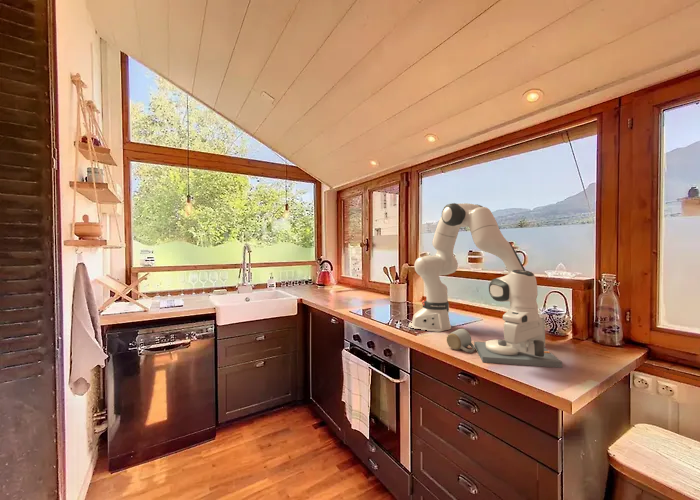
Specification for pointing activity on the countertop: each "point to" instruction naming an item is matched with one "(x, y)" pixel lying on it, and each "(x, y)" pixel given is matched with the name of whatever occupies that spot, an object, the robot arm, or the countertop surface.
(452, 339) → the ceramic mug
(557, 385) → the countertop surface
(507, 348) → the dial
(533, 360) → the stand
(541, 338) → the supplement box
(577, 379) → the countertop surface
